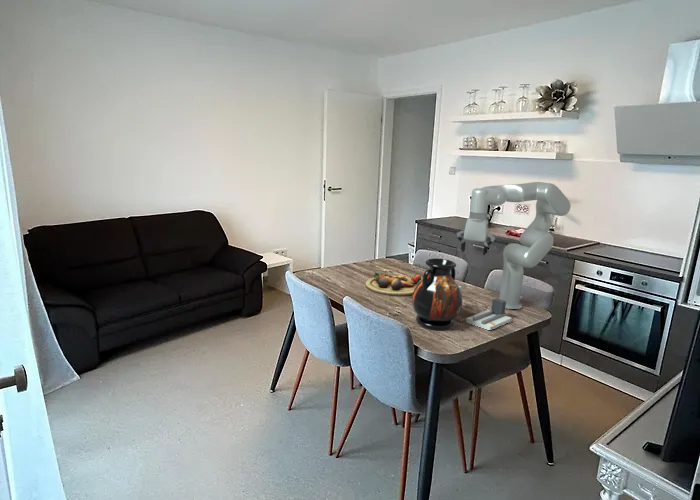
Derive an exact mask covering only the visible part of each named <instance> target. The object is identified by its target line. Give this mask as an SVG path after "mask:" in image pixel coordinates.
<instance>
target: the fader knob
mask: <svg viewBox="0 0 700 500" xmlns="http://www.w3.org/2000/svg"><path fill="white" fill-rule="evenodd" d="M505 307H506V301H504V300H501V299H499V297H498V298H496V297H495V298H493V299H492V303H491V310H490V311H494V314H495V315H498V314H503V313H506V309H505Z"/></svg>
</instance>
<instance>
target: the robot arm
mask: <svg viewBox="0 0 700 500" xmlns="http://www.w3.org/2000/svg"><path fill="white" fill-rule="evenodd" d="M530 201H536V203H535V217H534V219H533V220H532V221H531V223H530V224H529V225H528V226H527V227H526V229H524V230H523V231H522V233H521V235H520V236H519V239H518V240H519V243H520V244H519V243H515V242H514V243H512V242H511V243H509V244H507V245H506V246H505V247H504V249H503V251H502V256H503V267H502V274H501V275H502V276H501V284H500V290H499V297H498V299H501V300H504V301H506V307H505V308H507V309H506V310H509V309H519V310H521V309H522V308H523V304H522V303H521V302H520V301H521V300H523V296H522V295H521V291H522V286H523V279H524V268H525V269H532V268H534V267H536V266H537V265H538V264H539V263H540V262H541V261H542V260H543V259H544V257H545V256H546V255H548V253H549V251H551V249H552V248H553V245H554V243H555V242H554V236H553V234H552V233H550V232H549V230H550V229H551V227H552V219H551V218H552V217H551V215H553V216H558V217H562V216H566V215H567V214H568V213H569V212H570V211H571V201H570V200H569V198H568V197H567V196H566V195H565V194H564V193H563V191H562V190H561V189H560V188H559V187H558V186H557V185H556V184H554V183H551V182H544V181H543V182H542V181H532V182H525V183H515V184H502V185H501V184H498V185H489V186H488V185H487V186H483V187H481V188H480V187H479V188H473V189H472V191H471V197H470V207H469V213H468V214H469V215H468V218H467V219H466V222H465V226H464V227H465V228H464V230H460V231H459V232H456V236H457V239H458V240H459V242H460V250H461V253H463V252H465V251H466V250H465V249H466V241H471V242H472V241H473V242H480V243H481V242H482V243H483V244H484V245H483V252H482V255H483V256H485V255H486V254H487V253H488V250H489V249H488V248H489V246H490V245H492V244H493V243H494V241H495V240H496V236H494V235H493V234H491V233H489V220H488V219H489V218H490V217H491V214H489V213H488V208H489V207H488V206H490V205H491V206H495V207H499V206H502V205H503V204H505V203H506V202H508V203H524V202H530ZM462 234H463V238H462V236H461V235H462ZM488 238H490V241H488ZM520 308H521V309H520Z"/></svg>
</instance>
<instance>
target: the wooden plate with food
mask: <svg viewBox="0 0 700 500" xmlns="http://www.w3.org/2000/svg"><path fill="white" fill-rule="evenodd" d="M421 279H422V276H421V275H420V274H414V275H413V276H411V277H409V276H407V275H405V274H401V275H399V274H398V275H390V274H388V273H385V274H384V275H383V273H382V272H381V271H377V272H374V274H373V277H371V278H369V279H367V280H366V281H365V283H364V286H365V288H366V289H368V290H369V291H371V292H372V293H375V294H379V295H382V296H389V297H408V296H409V297H410V296H412V295H413V292H414V289H415V287H416V285H417V284H418V282H419V281H420V280H421Z"/></svg>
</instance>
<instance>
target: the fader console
mask: <svg viewBox="0 0 700 500" xmlns="http://www.w3.org/2000/svg"><path fill="white" fill-rule="evenodd" d="M512 319H513V318H512V317H510V316H508V315H507V314H506V312H505V313H503V314H498V315H495V314H494V311H491V310H490V309H486V310H483V311H482V312H479V313H476V314H473V315H471V316H468V317H465V324H469V325H471V324H472V325H471V326H474V325H475V326H474V327H477V326H478V327H477V328H479V327H481V328H480V329H482V328H484V329H487V330H492V329H495V328H497V327H499V326H501V325H503V324H505V323H507V322H510V321H511V322H512ZM511 322H510V323H511ZM501 327H502V326H501ZM499 328H500V327H499ZM484 329H483V330H484ZM497 329H498V328H497ZM487 330H486V331H487ZM495 330H496V329H495ZM492 331H493V330H492Z"/></svg>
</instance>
